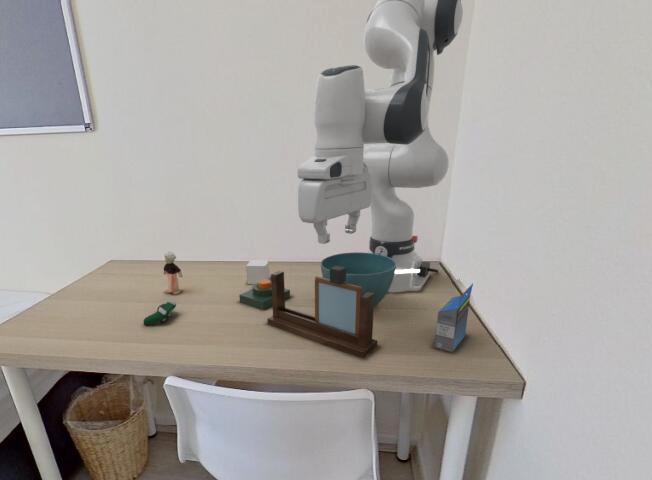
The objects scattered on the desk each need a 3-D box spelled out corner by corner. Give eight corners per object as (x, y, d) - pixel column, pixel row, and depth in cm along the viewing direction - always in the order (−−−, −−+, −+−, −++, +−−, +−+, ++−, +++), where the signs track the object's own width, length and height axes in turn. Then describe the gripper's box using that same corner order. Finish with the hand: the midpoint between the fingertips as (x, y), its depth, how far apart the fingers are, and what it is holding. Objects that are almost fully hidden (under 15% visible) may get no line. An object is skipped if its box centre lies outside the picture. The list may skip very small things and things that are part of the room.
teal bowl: (371, 329, 90) (374, 279, 86) (307, 310, 101) (306, 265, 97) (404, 303, 103) (408, 258, 98) (344, 289, 114) (344, 248, 110)
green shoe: (152, 333, 98) (165, 318, 95) (140, 322, 97) (153, 307, 95) (168, 317, 106) (181, 303, 104) (157, 307, 106) (170, 293, 103)
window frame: (283, 315, 99) (281, 268, 95) (377, 346, 83) (380, 291, 78) (267, 324, 95) (264, 275, 91) (362, 358, 79) (365, 301, 74)
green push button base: (266, 290, 116) (266, 277, 115) (290, 297, 111) (289, 283, 109) (239, 302, 109) (238, 288, 107) (263, 310, 103) (262, 295, 102)
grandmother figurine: (160, 293, 118) (153, 252, 113) (168, 289, 121) (162, 249, 117) (181, 296, 115) (176, 254, 111) (189, 291, 118) (183, 250, 114)
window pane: (319, 324, 90) (318, 261, 84) (362, 339, 83) (365, 271, 77) (312, 328, 88) (312, 264, 83) (356, 343, 81) (359, 274, 76)
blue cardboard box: (447, 331, 88) (453, 279, 83) (465, 336, 85) (473, 282, 81) (433, 347, 81) (439, 292, 77) (453, 353, 79) (460, 296, 75)
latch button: (264, 284, 111) (263, 278, 110) (273, 286, 109) (273, 281, 108) (255, 288, 108) (254, 282, 108) (264, 290, 106) (264, 284, 106)
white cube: (251, 277, 128) (250, 260, 125) (270, 278, 126) (269, 260, 124) (247, 284, 122) (246, 265, 120) (266, 284, 121) (265, 265, 119)
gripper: (353, 160, 82) (351, 226, 87) (291, 169, 68) (293, 246, 73) (381, 160, 78) (377, 229, 83) (320, 169, 64) (321, 251, 69)
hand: (337, 237), depth 78 cm, fingers open, 8 cm apart
